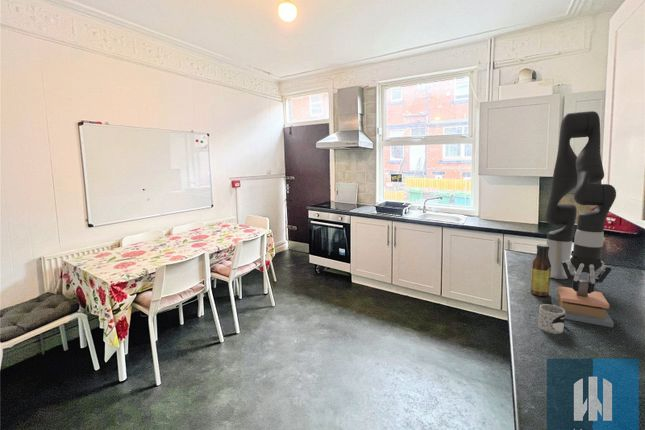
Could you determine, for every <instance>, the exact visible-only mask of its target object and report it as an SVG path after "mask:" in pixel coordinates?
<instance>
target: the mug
mask: <svg viewBox="0 0 645 430" xmlns="http://www.w3.org/2000/svg"><path fill="white" fill-rule="evenodd" d="M538 310H539V311H538V319H537V320H538V321H537V328H539V329H540V330H541V331H543V332H546V333H548V334H554V335H559V334H563V333H564V327H565V320H566V319H565V310H564V309H563V308H560V307H558V306H554V305H552V304H547V303H546V304H540V306H539V309H538Z"/></svg>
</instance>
